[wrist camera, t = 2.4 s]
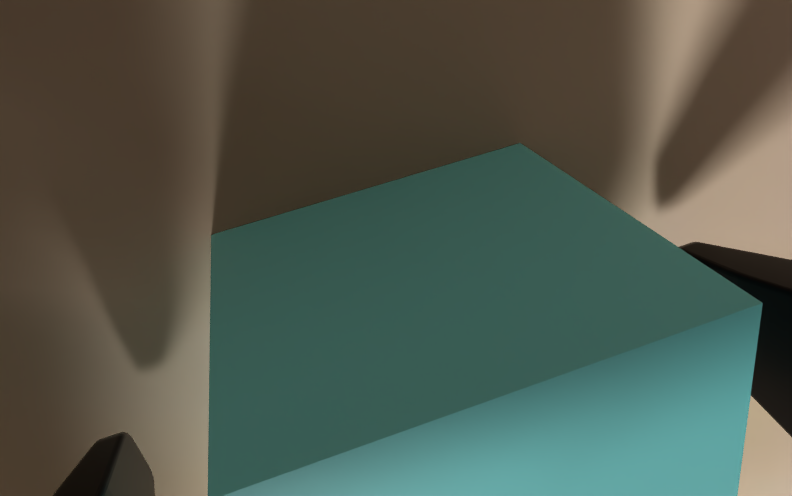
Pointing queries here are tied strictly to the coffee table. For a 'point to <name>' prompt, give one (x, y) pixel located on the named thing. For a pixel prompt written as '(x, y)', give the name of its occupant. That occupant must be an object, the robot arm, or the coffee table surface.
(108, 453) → the robot arm
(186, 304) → the coffee table surface
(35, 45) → the coffee table surface
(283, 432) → the teal cube
